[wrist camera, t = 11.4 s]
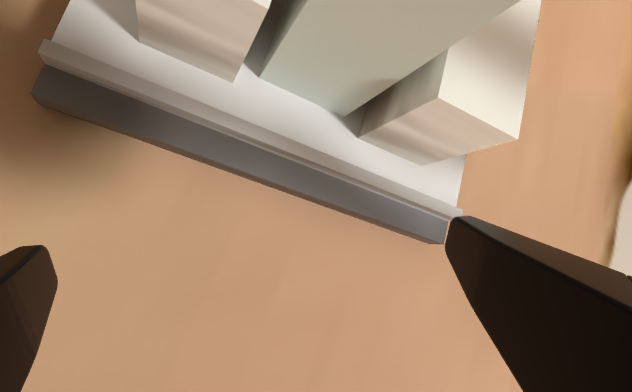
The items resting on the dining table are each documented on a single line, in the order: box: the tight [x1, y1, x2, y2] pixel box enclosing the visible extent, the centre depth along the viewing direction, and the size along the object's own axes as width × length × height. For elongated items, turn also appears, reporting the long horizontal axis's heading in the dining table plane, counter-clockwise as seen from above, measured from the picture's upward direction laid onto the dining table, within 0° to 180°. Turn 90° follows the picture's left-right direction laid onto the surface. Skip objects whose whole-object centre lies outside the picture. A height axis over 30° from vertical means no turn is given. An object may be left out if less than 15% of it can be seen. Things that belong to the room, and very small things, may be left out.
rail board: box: [30, 0, 541, 244], centre depth 17 cm, size 14×20×8 cm
